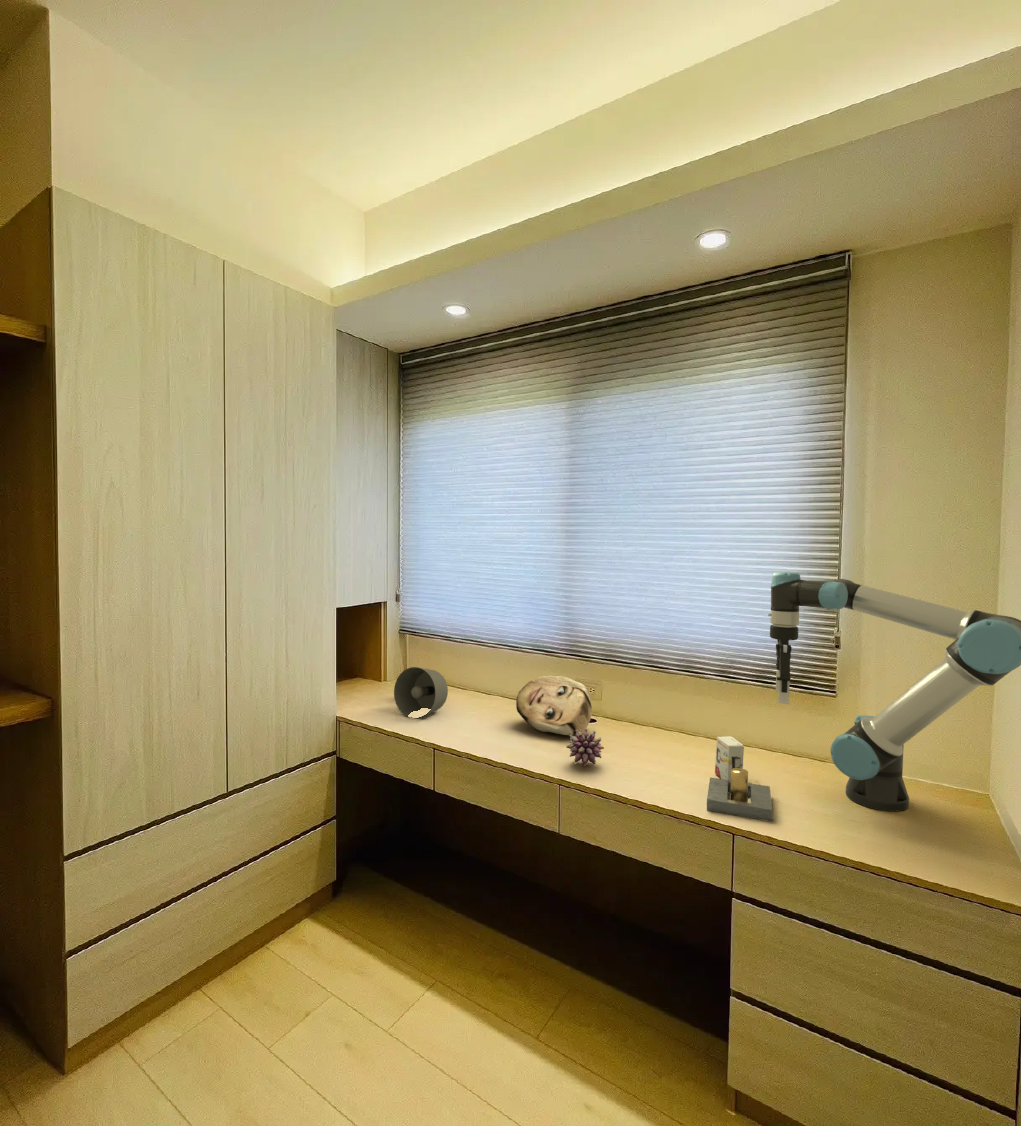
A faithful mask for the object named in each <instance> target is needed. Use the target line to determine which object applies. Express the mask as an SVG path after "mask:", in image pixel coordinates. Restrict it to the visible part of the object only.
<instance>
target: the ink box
mask: <svg viewBox="0 0 1021 1126" xmlns="http://www.w3.org/2000/svg"><path fill="white" fill-rule="evenodd" d="M715 749H716V750H715V765H714V774H715V775H716V776H717V777H719V779H724V780H731V769H733V768H741V769H744V750H745V746H744V744H742V743H741V742H740V741H739V740H737V739H736V738H734V737H733V736H729V735H727V736H716V748H715Z"/></svg>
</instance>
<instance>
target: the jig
mask: <svg viewBox="0 0 1021 1126" xmlns="http://www.w3.org/2000/svg"><path fill="white" fill-rule="evenodd" d="M708 783H709V784H708V788H707V789H708V791H707V797H706V811H708V812H713V813H714V812H715V813H720V814H727V815H733V816H737V817H744V818H749V819H754V820H761V821H767V822H773V805H772V804H773V803H772V796H771V795H772V794H771V787H770V786H769V785H764V784H763V785H762V784H756V783H750V782H748V797H750V799H749V800H750V803H749V802H748V803H745V802H739V801H733V800H731V799H728V798H729V795H728V794H731V780H724V779H721V778H717V777H716V778H715V777H709V782H708Z"/></svg>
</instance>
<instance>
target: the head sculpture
mask: <svg viewBox="0 0 1021 1126" xmlns="http://www.w3.org/2000/svg"><path fill="white" fill-rule="evenodd" d="M515 701H516V703H515V704H516V705H515V706H516V707H515V708H516V711H517V713H518V715H519V716H520V717H521V718H522V719H523V721H525V722H526V724H528V725H530V726H531V727H532V728H534V729H536V730H538V731H539V732H542V733H548V732H549V733H553V734H556V735H559V736H560V735H561V736H570V735H571V736H576V731H575V730H578V731H579V732H581V733H582V734H583V732H584V730H585V728H587V729H588V726H589V725H590V721H591V719H592V715H593V709H592V701H591V696H590V694H589V690H588V689H587V687H586V686H585V685H584V684H583V683H581V682H578V681H577V680H576V681H575V680H574V679H572V678H569V677H566V676H564V675H563V676H562V675H559V676H553V675H550V674H549V675H545V676H544V675H541V676H539V677H536V678H534V679H532V680H530V681H528V682H527V683H526V684H525V685H524V686H523V687H522V688H521V689H520V690H519V691H518V694H517V696H516V700H515Z"/></svg>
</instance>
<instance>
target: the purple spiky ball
mask: <svg viewBox="0 0 1021 1126" xmlns="http://www.w3.org/2000/svg"><path fill="white" fill-rule="evenodd" d="M575 731H576V735H569V740H570V742H569V744H566V749H570V750H569V752H570V754H569V757H570V758H571V757H574V759H573V760H574V764H577V763H578V762H579V761H581V763H582V766H583V767H584V768H585V767H587V764H588V763H592V764H593V765H596V758H600V759H602V755H601V754H602V753H601V752H602V750H604V749H605V747H604V746H603V745H601V741H602V737H601V736H600V737H596V730H593V731H592V732H590V733H589V732H588V727H587V728H585V730H584V732H583V733H581V732H579V731H578V730H575Z"/></svg>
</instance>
